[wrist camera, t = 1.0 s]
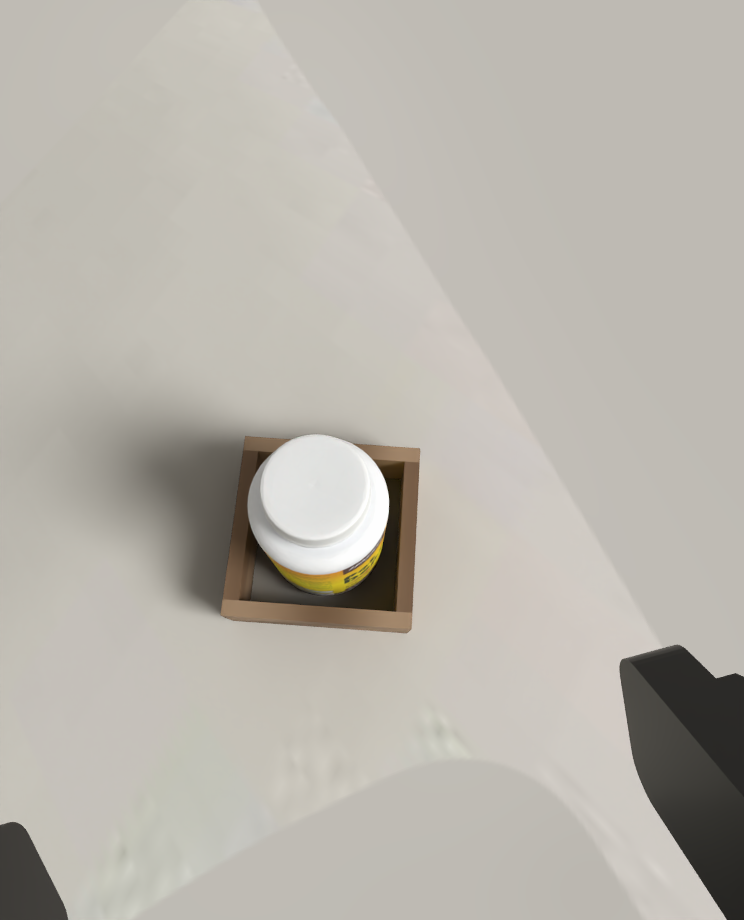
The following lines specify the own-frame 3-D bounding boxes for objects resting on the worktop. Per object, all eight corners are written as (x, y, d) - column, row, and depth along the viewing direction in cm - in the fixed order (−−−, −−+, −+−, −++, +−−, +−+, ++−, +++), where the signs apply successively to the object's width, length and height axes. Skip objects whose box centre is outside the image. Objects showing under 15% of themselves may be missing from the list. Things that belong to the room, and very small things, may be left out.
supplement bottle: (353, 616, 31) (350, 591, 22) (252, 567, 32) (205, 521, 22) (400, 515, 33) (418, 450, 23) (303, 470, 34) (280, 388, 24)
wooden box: (233, 620, 31) (220, 615, 28) (255, 456, 34) (245, 436, 31) (406, 632, 31) (411, 629, 28) (415, 467, 34) (420, 448, 31)
